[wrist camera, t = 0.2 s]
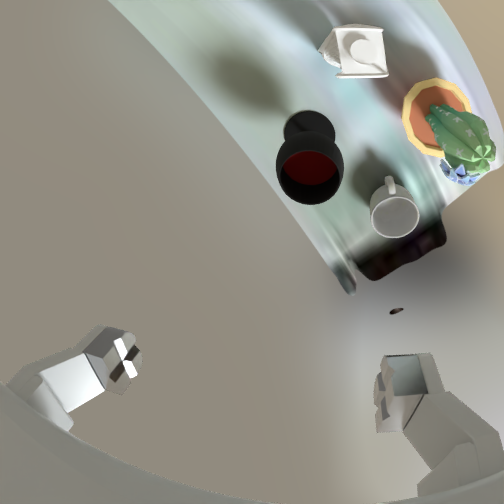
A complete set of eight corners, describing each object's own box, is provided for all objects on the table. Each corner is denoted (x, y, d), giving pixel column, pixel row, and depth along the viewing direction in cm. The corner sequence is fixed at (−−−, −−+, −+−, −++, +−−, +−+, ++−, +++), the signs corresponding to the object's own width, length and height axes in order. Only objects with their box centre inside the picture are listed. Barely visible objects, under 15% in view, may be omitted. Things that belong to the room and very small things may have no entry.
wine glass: (274, 140, 54) (259, 186, 40) (302, 101, 48) (299, 129, 33) (316, 167, 57) (317, 221, 42) (345, 130, 50) (361, 172, 35)
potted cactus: (374, 96, 44) (419, 137, 25) (430, 59, 35) (504, 80, 16) (415, 155, 49) (463, 225, 31) (466, 121, 40) (534, 176, 22)
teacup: (407, 217, 60) (415, 238, 54) (365, 218, 63) (369, 240, 57) (412, 165, 51) (424, 182, 45) (365, 165, 54) (372, 182, 48)
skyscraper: (342, 78, 43) (374, 109, 23) (308, 52, 41) (308, 56, 21) (369, 50, 38) (426, 56, 17) (334, 22, 36) (361, -2, 15)
